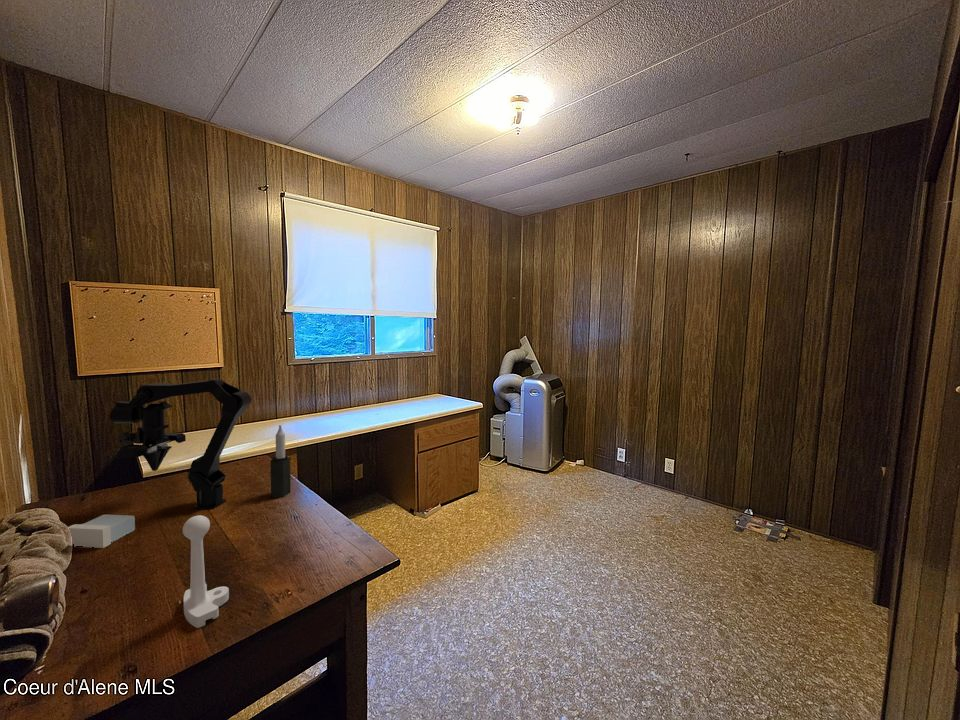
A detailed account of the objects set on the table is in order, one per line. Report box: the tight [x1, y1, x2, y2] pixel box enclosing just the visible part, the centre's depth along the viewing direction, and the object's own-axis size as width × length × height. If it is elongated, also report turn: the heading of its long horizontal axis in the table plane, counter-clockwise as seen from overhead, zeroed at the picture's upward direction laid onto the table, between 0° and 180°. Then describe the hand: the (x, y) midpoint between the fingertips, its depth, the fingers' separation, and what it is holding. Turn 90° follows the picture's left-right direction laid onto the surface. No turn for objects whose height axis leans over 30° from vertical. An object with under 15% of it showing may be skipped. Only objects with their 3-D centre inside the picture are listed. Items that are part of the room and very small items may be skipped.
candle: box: [270, 424, 291, 498], centre depth 134 cm, size 5×5×25 cm
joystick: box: [182, 515, 230, 629], centre depth 79 cm, size 11×8×20 cm
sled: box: [82, 514, 136, 543], centre depth 105 cm, size 9×7×4 cm
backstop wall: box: [68, 523, 112, 549], centre depth 100 cm, size 10×2×5 cm, turn 88°
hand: (154, 470), depth 122 cm, fingers closed
